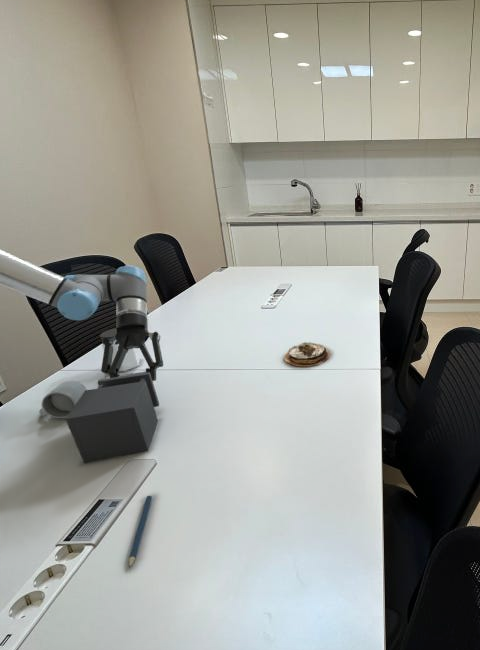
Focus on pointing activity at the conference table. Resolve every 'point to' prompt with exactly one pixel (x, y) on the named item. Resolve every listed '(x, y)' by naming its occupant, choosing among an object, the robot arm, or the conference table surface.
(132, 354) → the jar
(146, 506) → the pencil
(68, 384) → the ceramic mug
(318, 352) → the layered cake
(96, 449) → the dark grey cube
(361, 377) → the conference table surface
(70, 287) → the robot arm
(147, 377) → the basket
